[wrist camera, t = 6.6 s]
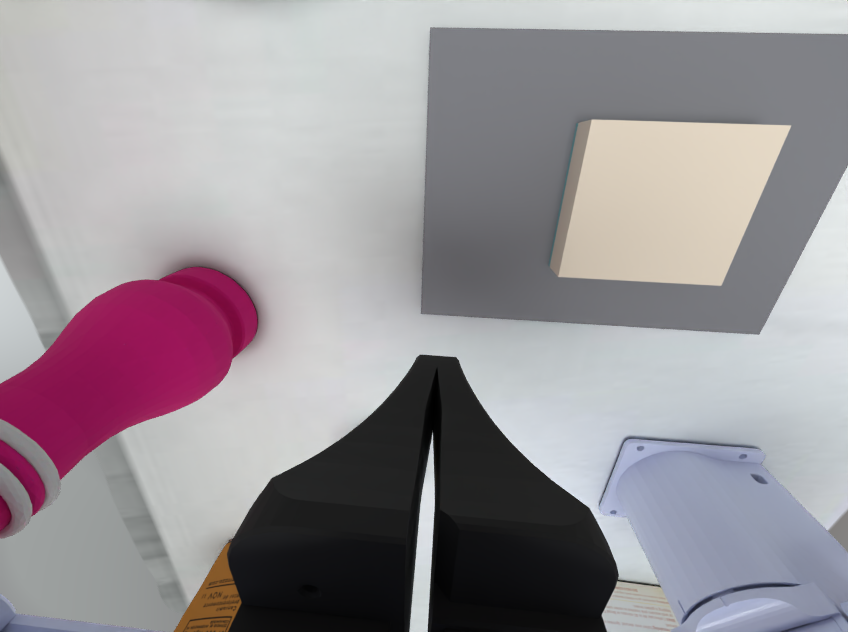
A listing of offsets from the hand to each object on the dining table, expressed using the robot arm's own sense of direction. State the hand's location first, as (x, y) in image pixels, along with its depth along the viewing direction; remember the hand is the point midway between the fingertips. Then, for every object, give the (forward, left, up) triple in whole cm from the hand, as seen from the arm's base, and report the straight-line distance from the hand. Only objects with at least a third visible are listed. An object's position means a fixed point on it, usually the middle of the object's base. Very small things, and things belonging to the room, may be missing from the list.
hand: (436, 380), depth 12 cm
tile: (-6, -5, -8) cm, 11 cm away
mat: (-9, -5, -10) cm, 14 cm away
